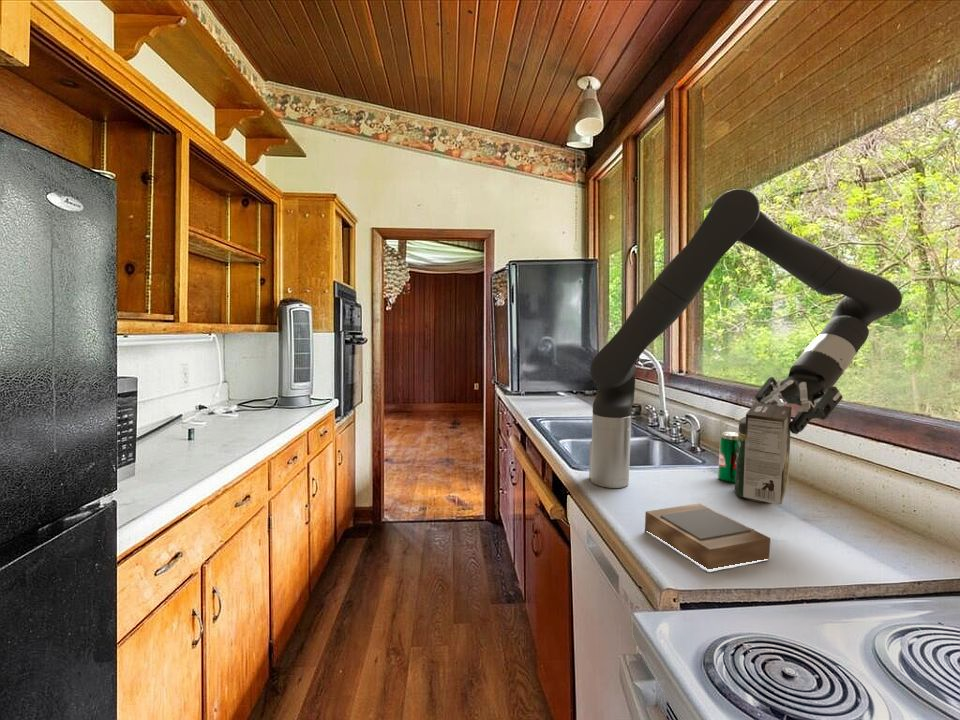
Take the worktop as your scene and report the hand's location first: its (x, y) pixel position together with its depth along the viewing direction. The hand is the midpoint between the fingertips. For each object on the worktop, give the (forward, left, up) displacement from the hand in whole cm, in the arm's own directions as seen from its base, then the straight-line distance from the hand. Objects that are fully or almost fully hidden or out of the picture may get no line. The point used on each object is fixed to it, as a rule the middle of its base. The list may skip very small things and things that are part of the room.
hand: (773, 425), depth 92 cm
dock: (0, -15, -21) cm, 26 cm away
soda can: (-26, +18, -21) cm, 38 cm away
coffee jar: (-16, +15, -21) cm, 30 cm away
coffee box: (0, -1, -13) cm, 13 cm away
